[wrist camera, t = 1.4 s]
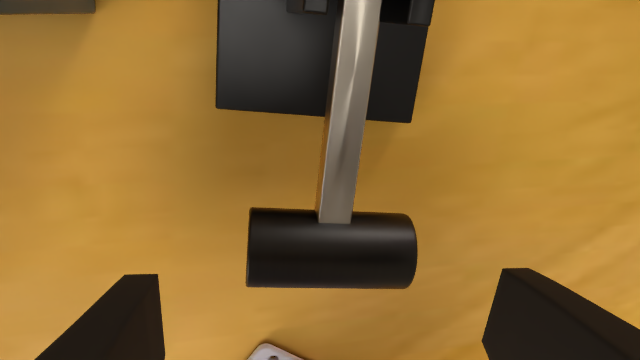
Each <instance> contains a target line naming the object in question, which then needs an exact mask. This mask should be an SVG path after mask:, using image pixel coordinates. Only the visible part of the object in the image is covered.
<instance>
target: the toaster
mask: <svg viewBox="0 0 640 360" xmlns="http://www.w3.org/2000/svg"><path fill="white" fill-rule="evenodd" d="M86 13H95V0H0V15H25V14H86Z"/></svg>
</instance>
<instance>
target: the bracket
mask: <svg viewBox="0 0 640 360" xmlns="http://www.w3.org/2000/svg"><path fill="white" fill-rule="evenodd" d="M434 2H435V0H383V3H382V10H381V17H380V23H379V30H378V37H377V44H376V51H375V58H374V65H373V72H372V79H371V86H370V93H369V100H368V107H367V114H366V120H372V121H386V122H399V123H411V120H412V114H413V109H414V104H415V98H416V93H417V87H418V82H419V76H420V71H421V65H422V60H423V54H424V49H425V43H426V38H427V32H428V27H429V26H430V23H431V18H432V12H433V7H434ZM337 3H338V0H218V10H217V58H216V105H215V106H216V108H217V109H227V110H240V111H253V112H267V113H280V114H293V115H306V116H320V117H325V111H326V102H327V93H328V84H329V75H330V66H331V57H332V48H333V39H334V30H335V21H336V12H337Z"/></svg>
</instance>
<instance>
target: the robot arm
mask: <svg viewBox="0 0 640 360" xmlns="http://www.w3.org/2000/svg"><path fill="white" fill-rule="evenodd" d="M482 343H483V345H484V348H485V350H486V353H487V355H488V358H489V360H640V329H638V328H636V327H634V326H633V325H631V324H629V323H627V322H626V321H624V320H622V319H620V318H619V317H617V316H615V315H613V314H612V313H610V312H608V311H606V310H605V309H603V308H601V307H599V306H598V305H596V304H594V303H592V302H591V301H589V300H587V299H585V298H584V297H582V296H580V295H578V294H577V293H575V292H573V291H571V290H570V289H568V288H566V287H564V286H562V285H561V284H559V283H557V282H555V281H553V280H551V279H550V278H548V277H546V276H544V275H542V274H540V273H538V272H536V271H534V270H531V269H529V268H503V269H502V272H501V275H500V279H499V282H498V286H497V289H496V293H495V296H494V300H493V303H492V307H491V310H490V314H489V317H488V321H487V324H486V328H485V331H484V335H483V338H482ZM271 356H277V357H276V358H270V357H271ZM164 359H165V346H164V335H163V325H162V314H161V303H160V292H159V281H158V274H135V275H124V276H123V277H122V278H121V279H120V280H118V281H117V282H116V283H115V284H114V285H113V286H112V287H111V288H110V289H109V290H108V291H107V292H106V293H105V294H104V295H103V296H102V297H101V298H100V299H99V300H98V301H97V302H95V303H94V304H93V305H92V306H91V307H90V308H89V309H88V310H87V311H86V312H85V313H84V314H83V315H82V316H81V317H80V318H79V319H78V320H77V321H76V322H75V323H74V324H73V325H72V326H70V327H69V328H68V329H67V330H66V331H65V332H64V333H63V334H62V335H61V336H60V337H59V338H57V339H56V340H55V341H54V342H53V343H52V344H51V345H50V346H49V347H48V348H47V349H46V350H44V351H43V352H42V353H41V354H40V355H39V356H38V357H37V358H36V359H35V360H164ZM248 360H303V359H301V358H299V357H297V356H295V355H292V354H290V353H288V352H286V351H284V350H282V349H280V348H277V347H275V346H273V345H271V344H268V343H265V344H261V345H259V346H258V347H257V348H256V349H255V351H254V352H253V353H252V354H251V356H250V357H249V358H248Z"/></svg>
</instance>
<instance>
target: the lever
mask: <svg viewBox="0 0 640 360" xmlns="http://www.w3.org/2000/svg"><path fill="white" fill-rule="evenodd" d="M382 3H383V0H338V3H337V12H336V21H335V30H334V39H333V48H332V57H331V66H330V75H329V84H328V93H327V102H326V111H325V120H324V129H323V138H322V147H321V156H320V165H319V174H318V183H317V192H316V202H315V210H304V209H280V208H255V207H252V208H250V210H249V226H248V245H247V264H246V286H247V287H273V288H357V289H405V288H407V287H409V286H410V284H411V283H412V281H413V278H414V275H415V271H416V266H417V239H416V233H415V229H414V225H413V223H412V221H411V219H410V218H409V216H407V215H406V214H402V213H378V212H353V204H354V197H355V190H356V183H357V176H358V169H359V162H360V155H361V148H362V141H363V134H364V127H365V120H366V114H367V107H368V100H369V93H370V86H371V79H372V72H373V65H374V58H375V51H376V44H377V37H378V30H379V23H380V17H381V10H382Z"/></svg>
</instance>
